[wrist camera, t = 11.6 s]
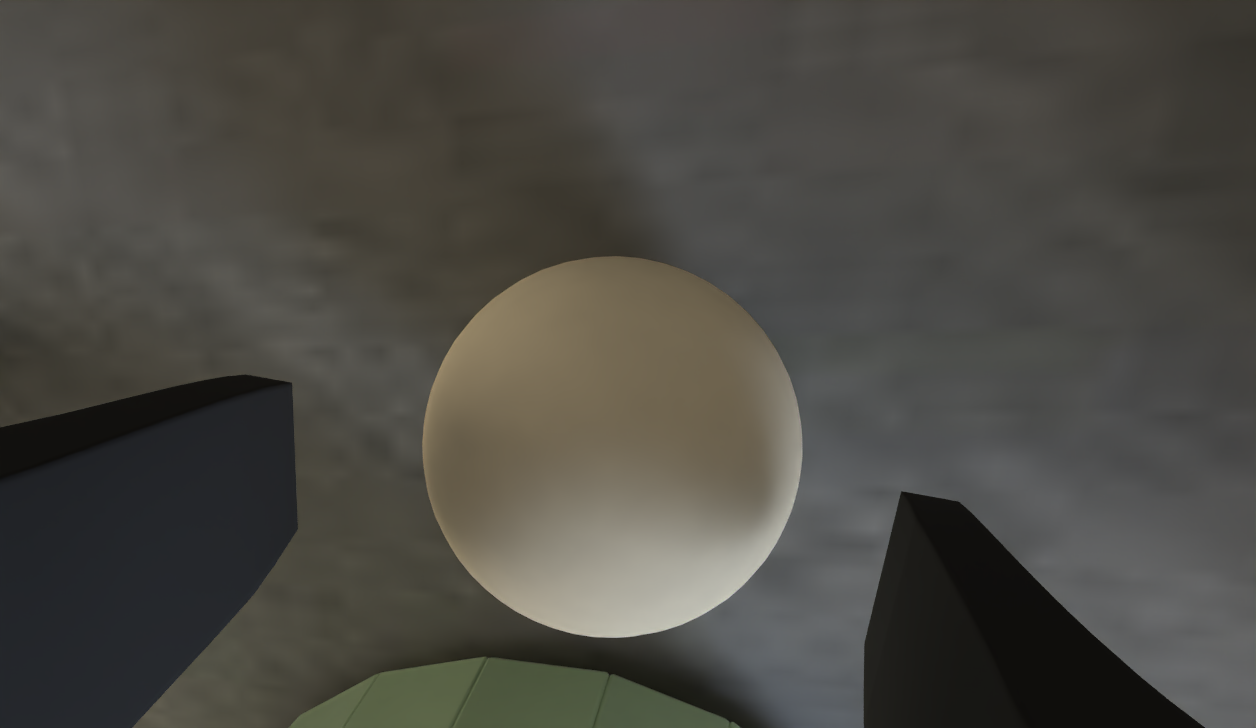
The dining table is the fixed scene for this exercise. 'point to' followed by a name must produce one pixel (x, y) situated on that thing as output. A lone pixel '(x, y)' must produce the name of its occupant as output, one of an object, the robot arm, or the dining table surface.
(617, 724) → the bowl
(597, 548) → the cream ball
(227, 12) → the dining table surface
